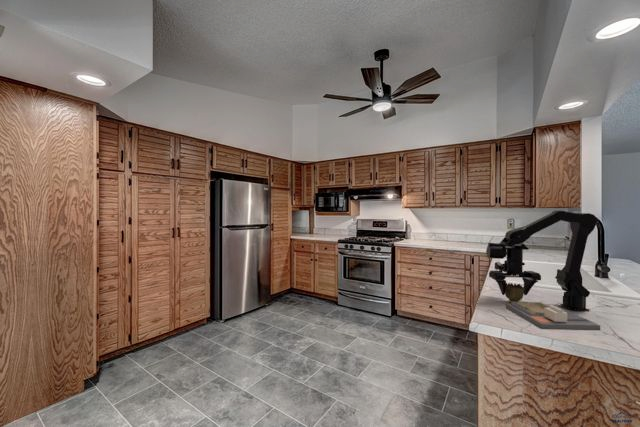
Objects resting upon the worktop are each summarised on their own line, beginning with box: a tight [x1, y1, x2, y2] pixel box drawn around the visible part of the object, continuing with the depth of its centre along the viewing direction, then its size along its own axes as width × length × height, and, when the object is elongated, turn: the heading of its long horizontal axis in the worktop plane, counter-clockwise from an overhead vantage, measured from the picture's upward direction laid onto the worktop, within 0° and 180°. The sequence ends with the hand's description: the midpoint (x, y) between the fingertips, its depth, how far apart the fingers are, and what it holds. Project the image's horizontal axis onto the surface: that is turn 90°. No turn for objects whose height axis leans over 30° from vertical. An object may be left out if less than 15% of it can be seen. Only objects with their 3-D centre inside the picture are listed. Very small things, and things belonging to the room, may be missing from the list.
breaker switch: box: [544, 304, 567, 322], centre depth 98 cm, size 4×5×4 cm
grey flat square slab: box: [505, 303, 601, 331], centre depth 104 cm, size 19×20×2 cm
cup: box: [505, 282, 525, 304], centre depth 119 cm, size 8×7×8 cm
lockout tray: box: [510, 301, 549, 316], centre depth 107 cm, size 12×12×1 cm
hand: (514, 294), depth 119 cm, fingers open, 9 cm apart
